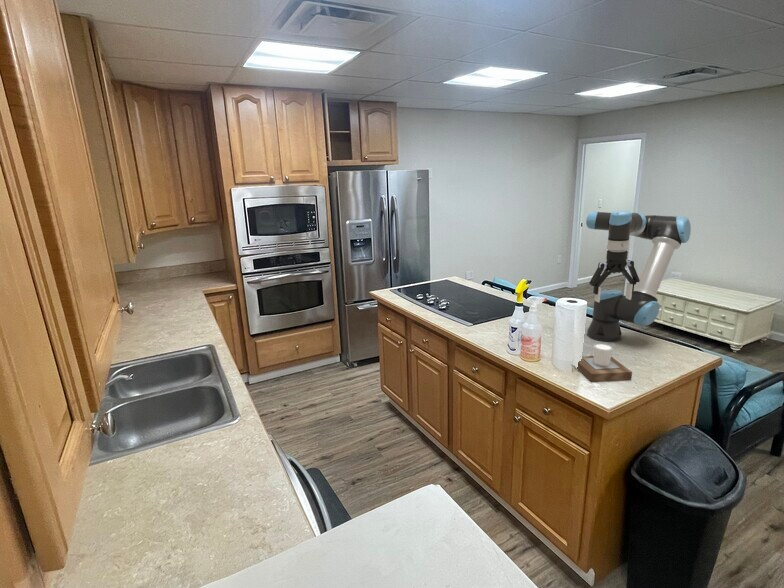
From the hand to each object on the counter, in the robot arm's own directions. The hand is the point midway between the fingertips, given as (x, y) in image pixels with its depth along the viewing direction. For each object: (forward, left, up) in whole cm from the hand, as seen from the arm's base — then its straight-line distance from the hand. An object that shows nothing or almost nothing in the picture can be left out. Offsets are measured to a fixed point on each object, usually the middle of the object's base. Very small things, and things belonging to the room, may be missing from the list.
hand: (612, 300), depth 176 cm
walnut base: (+10, +13, -26) cm, 31 cm away
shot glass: (+10, +13, -22) cm, 28 cm away
